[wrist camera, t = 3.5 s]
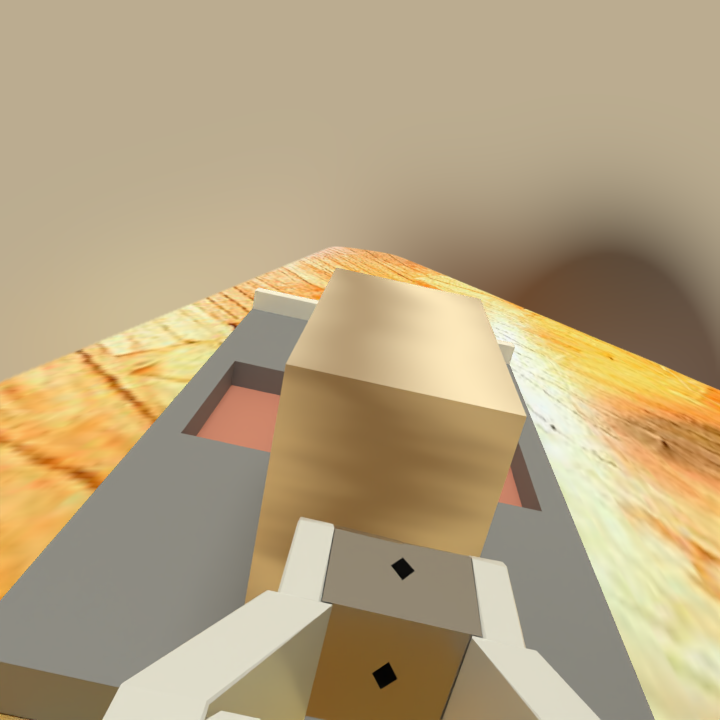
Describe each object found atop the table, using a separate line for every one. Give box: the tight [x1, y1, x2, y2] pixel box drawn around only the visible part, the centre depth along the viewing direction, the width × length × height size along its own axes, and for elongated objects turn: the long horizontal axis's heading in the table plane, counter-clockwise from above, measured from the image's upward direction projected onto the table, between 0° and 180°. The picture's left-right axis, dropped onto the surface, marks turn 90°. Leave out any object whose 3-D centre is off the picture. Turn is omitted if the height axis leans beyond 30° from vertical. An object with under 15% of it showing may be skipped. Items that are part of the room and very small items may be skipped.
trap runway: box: [0, 288, 655, 720], centre depth 34 cm, size 21×36×4 cm, turn 176°
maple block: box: [244, 268, 527, 605], centre depth 22 cm, size 6×11×10 cm, turn 176°
